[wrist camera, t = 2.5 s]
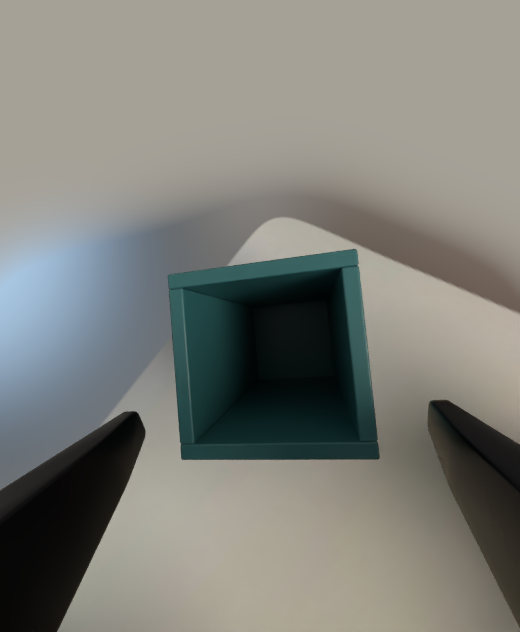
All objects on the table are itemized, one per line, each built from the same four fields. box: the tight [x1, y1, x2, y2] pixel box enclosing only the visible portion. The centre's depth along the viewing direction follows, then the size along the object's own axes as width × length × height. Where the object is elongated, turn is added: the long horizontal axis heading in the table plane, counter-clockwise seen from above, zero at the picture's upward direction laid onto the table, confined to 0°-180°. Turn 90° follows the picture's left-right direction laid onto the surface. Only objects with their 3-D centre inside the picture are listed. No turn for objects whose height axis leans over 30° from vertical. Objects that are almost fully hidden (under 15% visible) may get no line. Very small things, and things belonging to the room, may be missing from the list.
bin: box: [168, 249, 380, 460], centre depth 14 cm, size 6×6×11 cm
